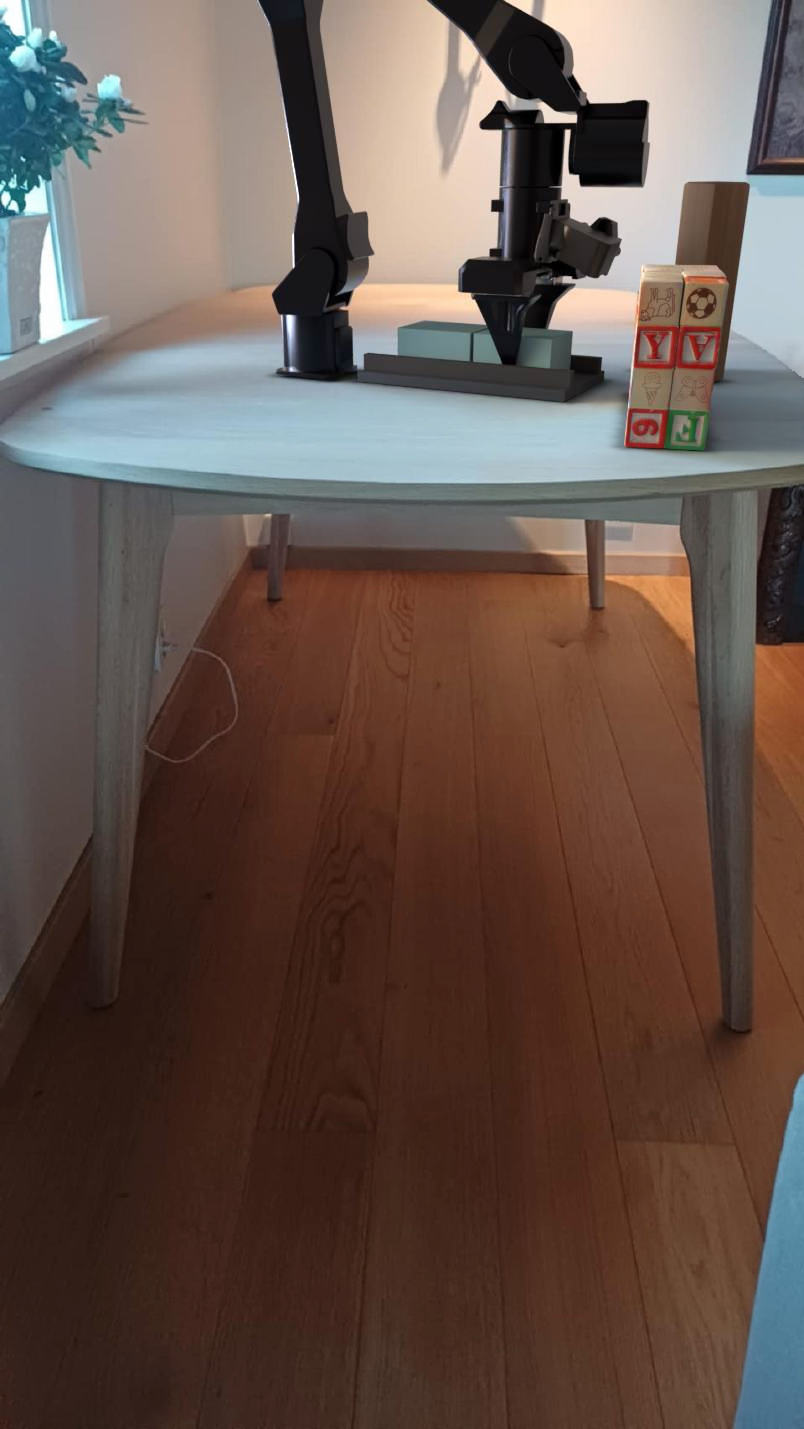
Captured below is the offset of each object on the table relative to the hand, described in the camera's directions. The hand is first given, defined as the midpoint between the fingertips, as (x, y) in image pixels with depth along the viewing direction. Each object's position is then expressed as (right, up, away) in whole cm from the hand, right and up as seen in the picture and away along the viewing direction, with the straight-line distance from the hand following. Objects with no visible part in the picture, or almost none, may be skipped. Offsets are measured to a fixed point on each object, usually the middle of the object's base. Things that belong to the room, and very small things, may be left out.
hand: (521, 364), depth 103 cm
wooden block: (+17, 0, +5) cm, 18 cm away
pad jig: (-4, -1, +3) cm, 5 cm away
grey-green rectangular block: (0, -1, 0) cm, 1 cm away
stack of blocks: (+11, -9, -13) cm, 19 cm away
